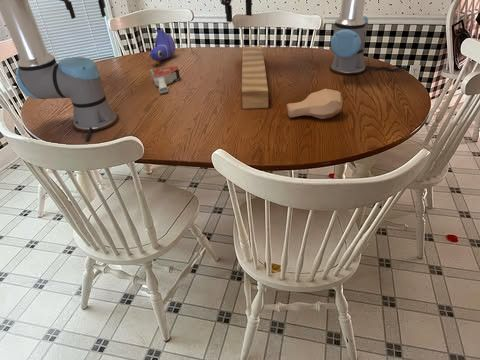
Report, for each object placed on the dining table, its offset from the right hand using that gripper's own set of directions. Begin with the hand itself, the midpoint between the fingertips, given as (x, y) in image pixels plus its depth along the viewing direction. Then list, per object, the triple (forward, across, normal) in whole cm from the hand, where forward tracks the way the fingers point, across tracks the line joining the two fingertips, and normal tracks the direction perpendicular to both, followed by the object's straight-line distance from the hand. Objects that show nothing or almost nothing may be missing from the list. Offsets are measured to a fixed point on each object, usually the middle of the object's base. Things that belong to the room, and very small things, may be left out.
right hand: (239, 18), depth 157 cm
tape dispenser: (+24, +33, -19) cm, 45 cm away
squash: (+23, +24, +53) cm, 63 cm away
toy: (+24, +10, -46) cm, 53 cm away
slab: (+23, +8, +13) cm, 28 cm away
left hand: (-4, +42, -51) cm, 67 cm away
